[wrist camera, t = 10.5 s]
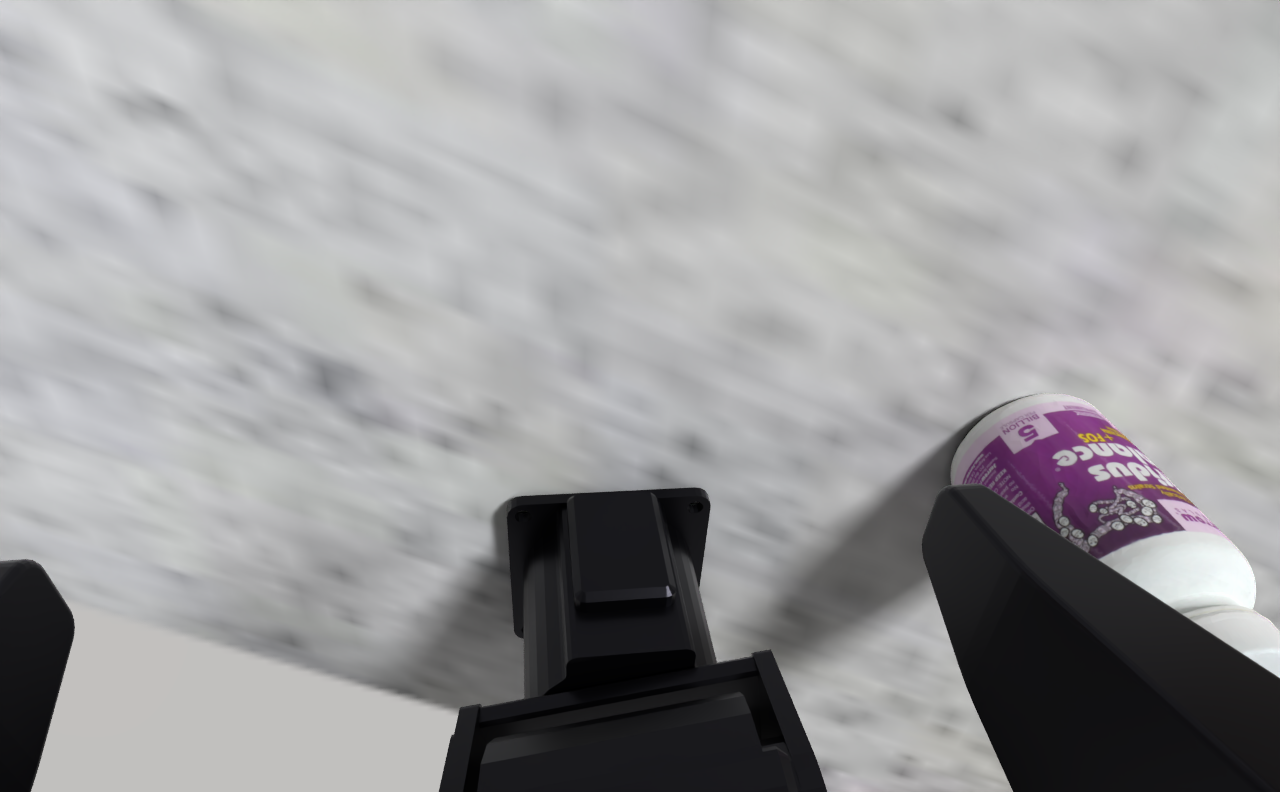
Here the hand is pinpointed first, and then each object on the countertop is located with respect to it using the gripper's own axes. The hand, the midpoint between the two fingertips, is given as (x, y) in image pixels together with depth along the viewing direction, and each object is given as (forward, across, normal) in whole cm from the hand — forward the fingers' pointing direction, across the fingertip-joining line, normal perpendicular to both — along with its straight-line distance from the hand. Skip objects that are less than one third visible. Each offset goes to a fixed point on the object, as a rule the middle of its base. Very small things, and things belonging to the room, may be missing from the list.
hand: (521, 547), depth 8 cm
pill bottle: (+13, -16, +11) cm, 23 cm away
